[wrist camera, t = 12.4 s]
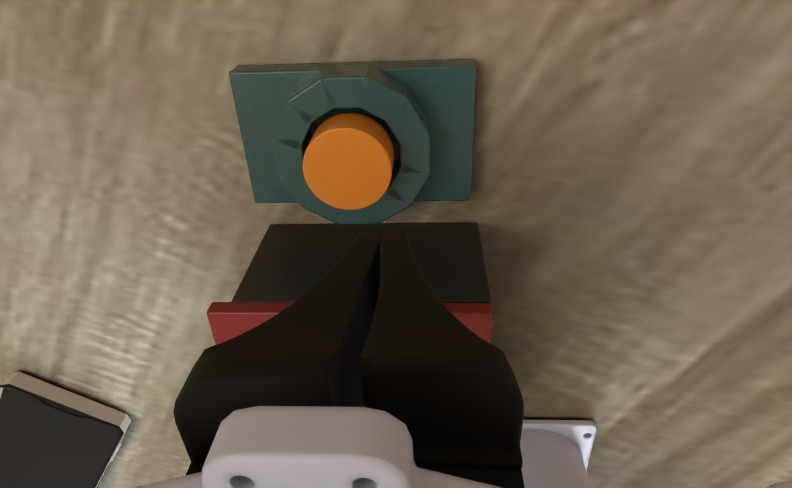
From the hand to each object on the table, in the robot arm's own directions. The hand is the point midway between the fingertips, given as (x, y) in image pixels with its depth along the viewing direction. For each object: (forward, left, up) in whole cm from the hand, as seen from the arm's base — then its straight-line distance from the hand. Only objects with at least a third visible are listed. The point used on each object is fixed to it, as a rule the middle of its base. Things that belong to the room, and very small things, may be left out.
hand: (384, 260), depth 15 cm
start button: (0, +2, -8) cm, 8 cm away
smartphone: (-23, +26, -10) cm, 36 cm away
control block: (0, +2, -10) cm, 10 cm away
